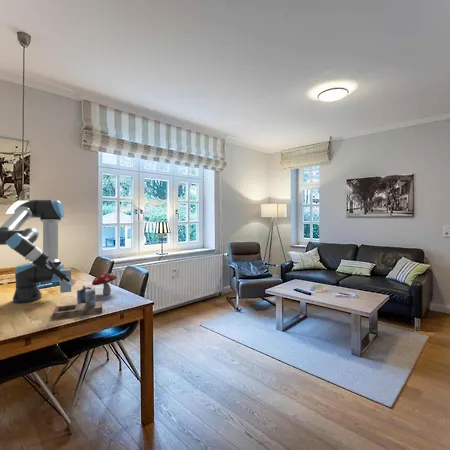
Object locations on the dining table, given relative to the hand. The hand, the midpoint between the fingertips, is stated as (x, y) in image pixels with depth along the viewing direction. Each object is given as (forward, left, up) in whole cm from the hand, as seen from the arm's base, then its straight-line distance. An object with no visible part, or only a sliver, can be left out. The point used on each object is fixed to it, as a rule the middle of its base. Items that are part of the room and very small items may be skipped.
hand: (73, 283), depth 158 cm
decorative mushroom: (+17, +31, -17) cm, 39 cm away
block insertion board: (+3, 0, -17) cm, 17 cm away
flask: (+4, +17, -17) cm, 25 cm away
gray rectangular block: (-4, -1, -4) cm, 5 cm away
